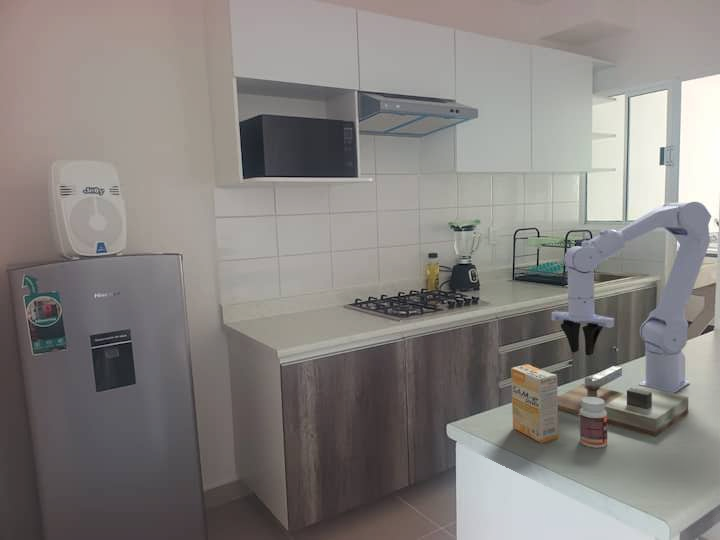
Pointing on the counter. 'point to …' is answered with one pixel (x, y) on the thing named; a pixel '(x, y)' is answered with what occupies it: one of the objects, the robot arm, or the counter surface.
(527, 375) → the supplement box
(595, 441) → the pill bottle
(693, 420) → the counter surface
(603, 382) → the bar
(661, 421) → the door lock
